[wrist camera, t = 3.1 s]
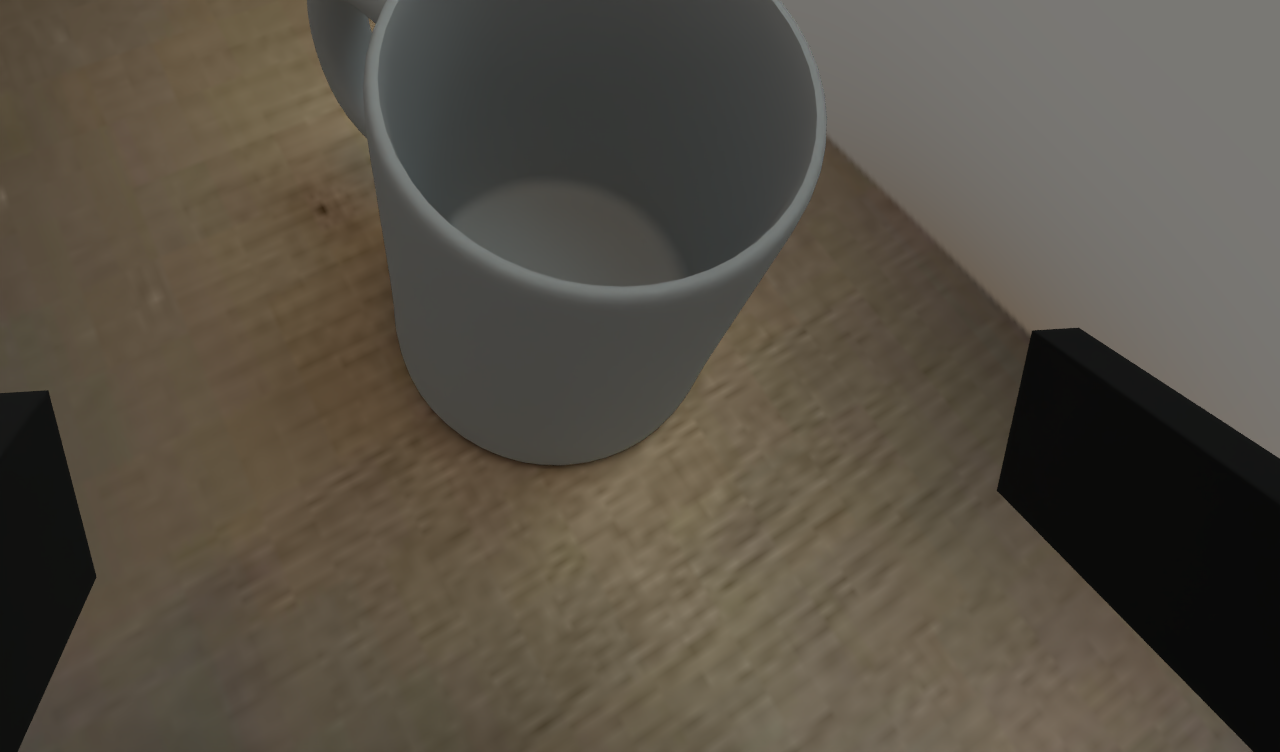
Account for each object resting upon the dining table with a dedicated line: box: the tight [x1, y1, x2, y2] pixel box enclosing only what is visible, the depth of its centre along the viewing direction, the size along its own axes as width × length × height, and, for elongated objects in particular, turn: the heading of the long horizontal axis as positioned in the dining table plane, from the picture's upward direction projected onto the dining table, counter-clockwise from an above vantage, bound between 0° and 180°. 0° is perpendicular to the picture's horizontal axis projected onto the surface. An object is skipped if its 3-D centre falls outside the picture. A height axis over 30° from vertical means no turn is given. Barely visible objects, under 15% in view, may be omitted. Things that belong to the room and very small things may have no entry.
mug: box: [307, 0, 827, 465], centre depth 23 cm, size 12×8×11 cm
